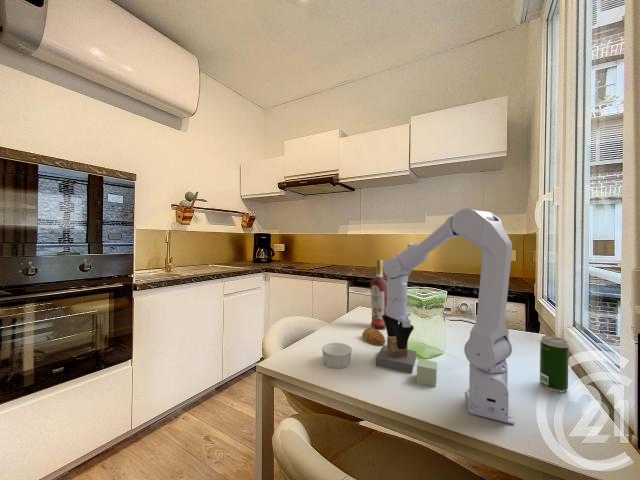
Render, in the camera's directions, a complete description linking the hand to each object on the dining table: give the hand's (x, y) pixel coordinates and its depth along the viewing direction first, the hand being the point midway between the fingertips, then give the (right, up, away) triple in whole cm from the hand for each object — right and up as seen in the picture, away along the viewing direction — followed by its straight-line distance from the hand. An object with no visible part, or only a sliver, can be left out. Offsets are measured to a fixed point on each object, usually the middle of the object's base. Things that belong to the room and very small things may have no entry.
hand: (396, 343), depth 80 cm
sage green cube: (+5, -6, -10) cm, 13 cm away
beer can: (+36, -6, -13) cm, 39 cm away
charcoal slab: (0, -6, 0) cm, 6 cm away
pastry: (-3, -6, +17) cm, 19 cm away
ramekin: (-18, -6, 0) cm, 19 cm away
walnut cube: (0, -3, 0) cm, 3 cm away
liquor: (+2, -6, +31) cm, 32 cm away
